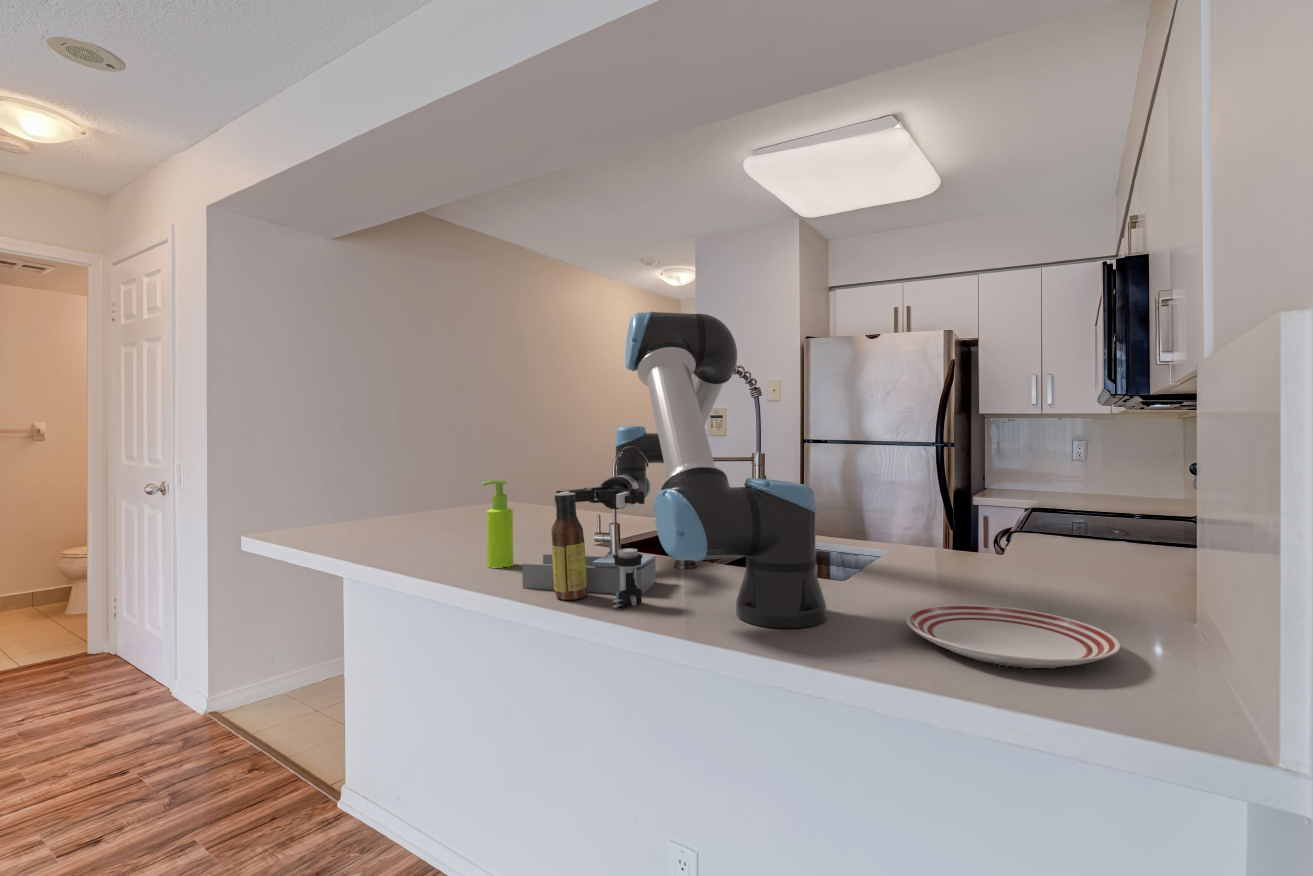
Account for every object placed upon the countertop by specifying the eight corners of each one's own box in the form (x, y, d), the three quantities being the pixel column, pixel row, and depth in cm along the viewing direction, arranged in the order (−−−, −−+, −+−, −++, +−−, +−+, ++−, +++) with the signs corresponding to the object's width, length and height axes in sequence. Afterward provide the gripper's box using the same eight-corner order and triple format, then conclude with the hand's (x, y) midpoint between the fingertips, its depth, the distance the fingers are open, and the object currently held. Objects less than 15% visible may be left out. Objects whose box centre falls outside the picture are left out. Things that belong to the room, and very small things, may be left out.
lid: (655, 558, 137) (655, 555, 137) (640, 567, 127) (640, 564, 127) (609, 556, 140) (609, 553, 140) (592, 565, 129) (592, 561, 129)
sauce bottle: (590, 592, 129) (588, 491, 128) (583, 601, 123) (581, 495, 122) (557, 592, 130) (555, 491, 129) (548, 601, 123) (546, 495, 123)
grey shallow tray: (655, 582, 137) (655, 558, 137) (641, 595, 127) (641, 569, 127) (544, 576, 144) (544, 553, 144) (522, 588, 134) (522, 563, 133)
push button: (624, 612, 116) (624, 555, 115) (602, 607, 119) (601, 552, 119) (649, 604, 121) (648, 549, 121) (627, 599, 124) (626, 546, 124)
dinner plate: (935, 610, 116) (935, 591, 116) (1127, 641, 99) (1127, 619, 99) (878, 654, 94) (878, 631, 94) (1110, 703, 77) (1110, 675, 77)
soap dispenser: (481, 565, 156) (479, 480, 155) (510, 562, 159) (509, 479, 158) (485, 570, 150) (484, 482, 150) (515, 567, 153) (514, 480, 153)
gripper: (670, 508, 153) (645, 520, 132) (570, 507, 159) (531, 518, 139) (669, 476, 153) (644, 482, 132) (569, 476, 159) (530, 482, 139)
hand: (586, 500), depth 136 cm, fingers open, 13 cm apart
